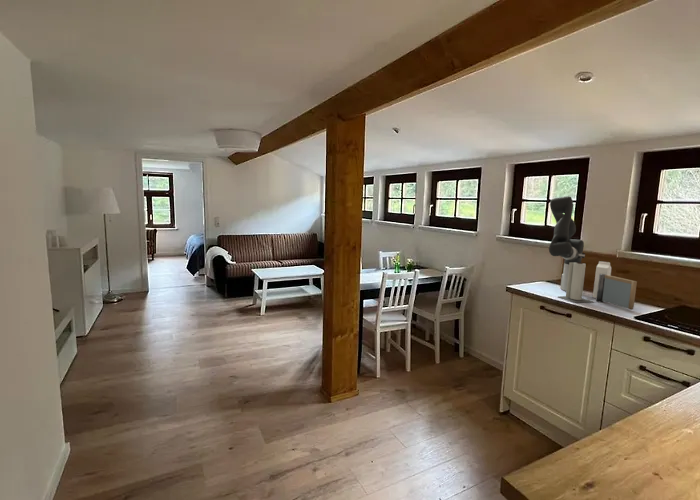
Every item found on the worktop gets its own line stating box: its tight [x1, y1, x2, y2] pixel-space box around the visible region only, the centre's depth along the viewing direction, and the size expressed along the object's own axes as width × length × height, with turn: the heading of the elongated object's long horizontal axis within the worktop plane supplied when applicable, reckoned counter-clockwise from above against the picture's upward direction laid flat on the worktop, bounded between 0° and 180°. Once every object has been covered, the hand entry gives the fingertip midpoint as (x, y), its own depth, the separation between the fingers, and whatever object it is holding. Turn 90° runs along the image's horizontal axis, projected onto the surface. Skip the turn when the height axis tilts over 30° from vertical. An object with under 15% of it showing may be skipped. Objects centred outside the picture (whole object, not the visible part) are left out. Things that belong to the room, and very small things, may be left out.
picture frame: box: [602, 275, 638, 310], centre depth 205 cm, size 18×2×15 cm, turn 13°
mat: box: [557, 295, 594, 304], centre depth 219 cm, size 13×13×1 cm
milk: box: [592, 260, 612, 299], centre depth 224 cm, size 6×6×22 cm
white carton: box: [565, 262, 587, 300], centre depth 218 cm, size 7×6×21 cm
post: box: [595, 274, 606, 303], centre depth 216 cm, size 3×3×16 cm
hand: (576, 256), depth 221 cm, fingers closed
